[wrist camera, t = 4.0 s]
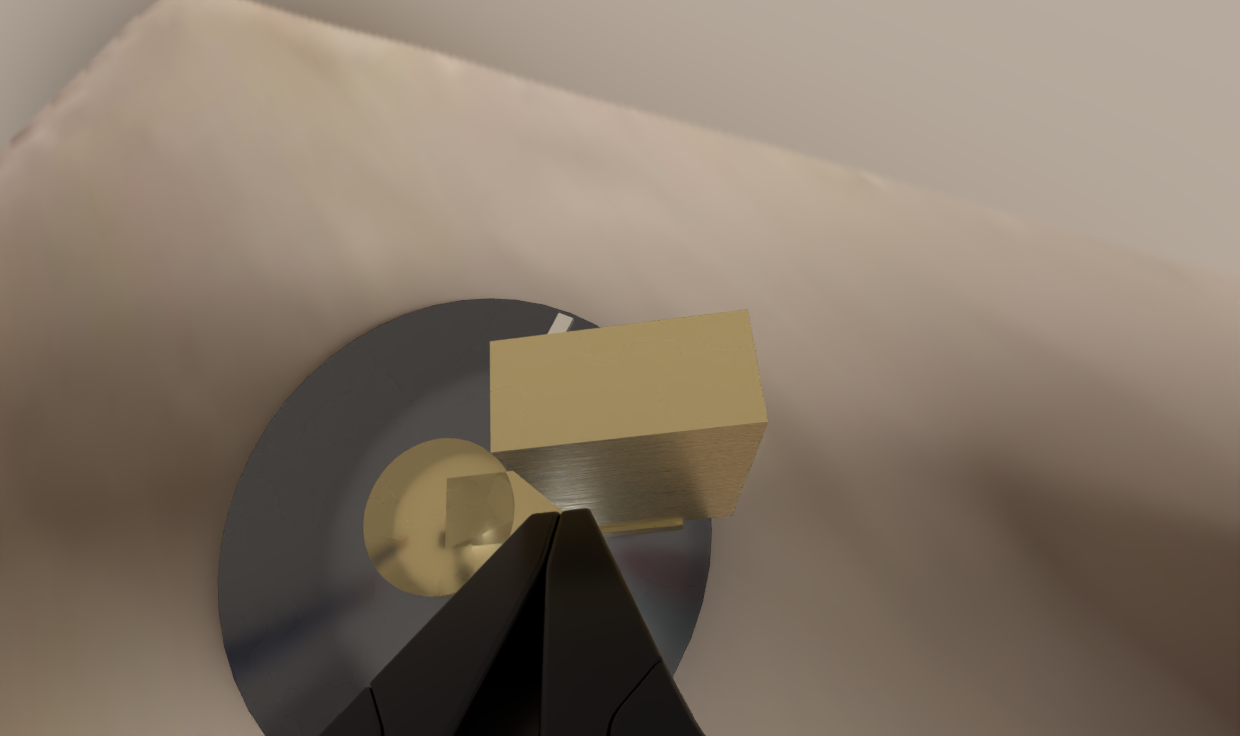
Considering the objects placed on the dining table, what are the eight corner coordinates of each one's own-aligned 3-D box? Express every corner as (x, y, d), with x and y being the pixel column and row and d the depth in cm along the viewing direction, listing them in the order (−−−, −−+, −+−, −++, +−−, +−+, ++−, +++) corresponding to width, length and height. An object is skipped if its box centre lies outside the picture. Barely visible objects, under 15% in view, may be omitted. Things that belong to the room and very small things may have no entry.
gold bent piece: (383, 604, 17) (54, 590, 8) (391, 458, 18) (119, 315, 10) (735, 570, 16) (785, 517, 8) (713, 422, 18) (734, 234, 9)
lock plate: (206, 828, 16) (170, 843, 15) (272, 339, 22) (249, 324, 20) (747, 788, 15) (752, 802, 14) (679, 287, 21) (678, 269, 20)
